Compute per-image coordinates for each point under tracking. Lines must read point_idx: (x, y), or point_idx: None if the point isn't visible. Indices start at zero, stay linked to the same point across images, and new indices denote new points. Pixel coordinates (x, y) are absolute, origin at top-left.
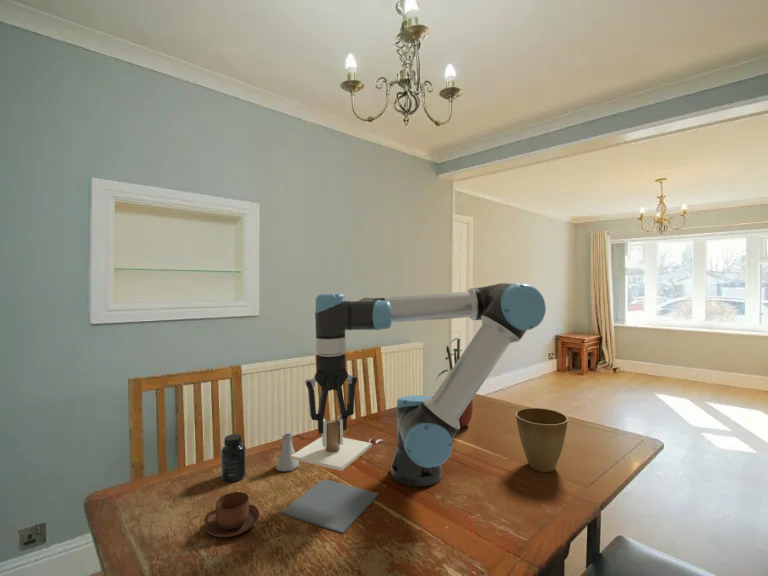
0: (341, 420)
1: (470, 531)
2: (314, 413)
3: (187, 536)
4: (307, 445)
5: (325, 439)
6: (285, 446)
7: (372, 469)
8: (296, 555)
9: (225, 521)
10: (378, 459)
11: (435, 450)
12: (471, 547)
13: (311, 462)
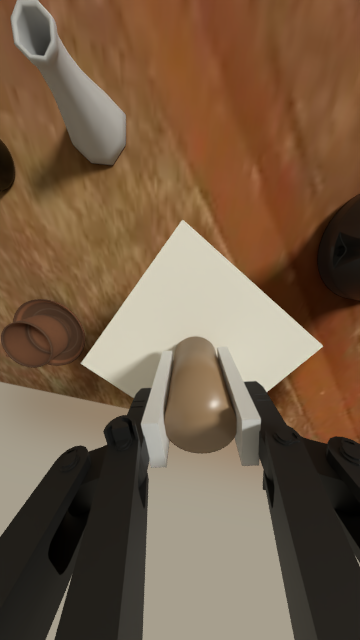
0: (249, 460)
1: (344, 405)
2: (74, 543)
3: None
4: (119, 310)
5: None
6: (59, 95)
7: (292, 200)
8: None
9: (41, 356)
10: (328, 141)
11: None
12: (326, 425)
13: None
